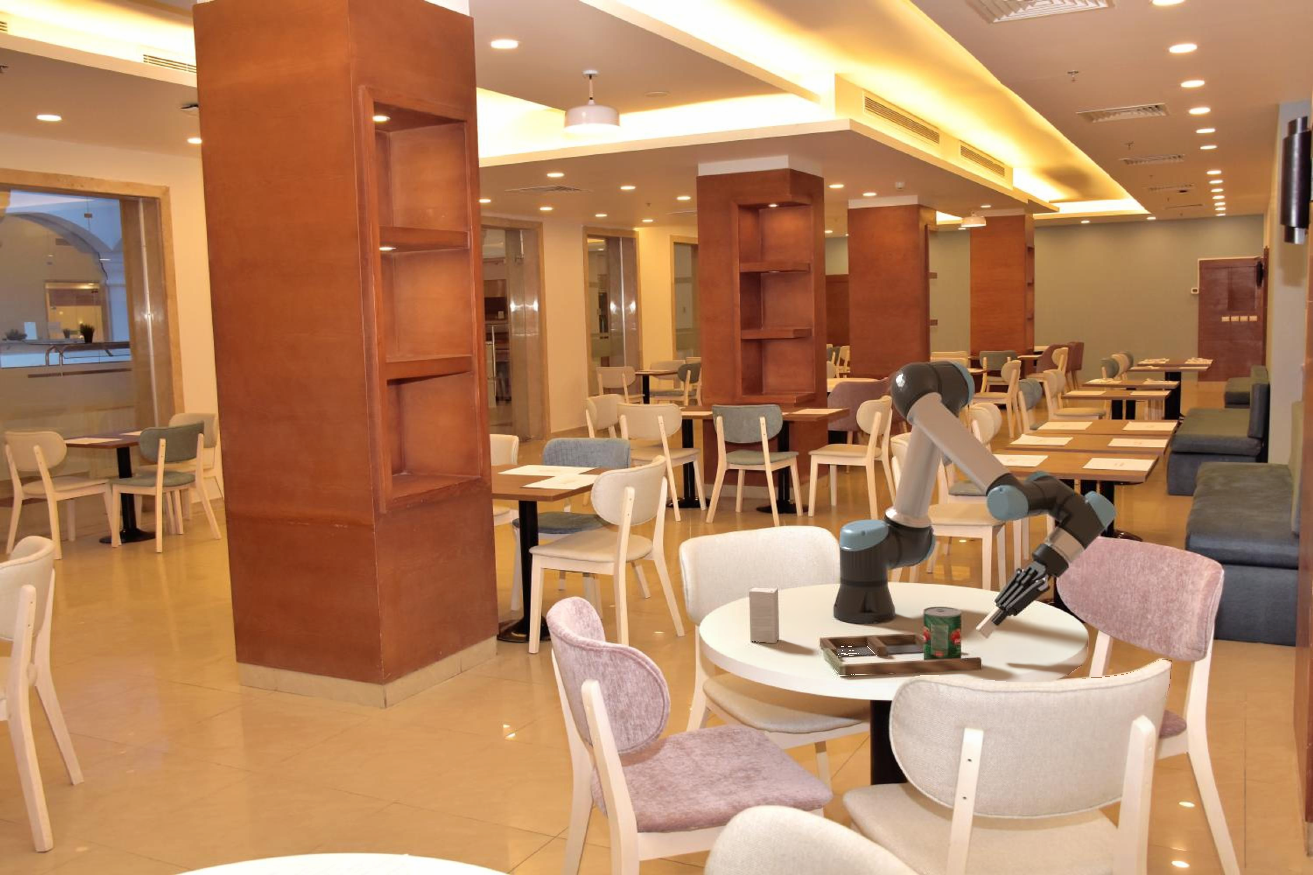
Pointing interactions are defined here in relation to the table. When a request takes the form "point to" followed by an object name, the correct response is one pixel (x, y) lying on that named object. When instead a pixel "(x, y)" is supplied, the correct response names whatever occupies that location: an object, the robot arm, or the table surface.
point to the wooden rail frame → (888, 646)
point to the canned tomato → (942, 633)
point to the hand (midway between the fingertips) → (981, 633)
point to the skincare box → (764, 615)
